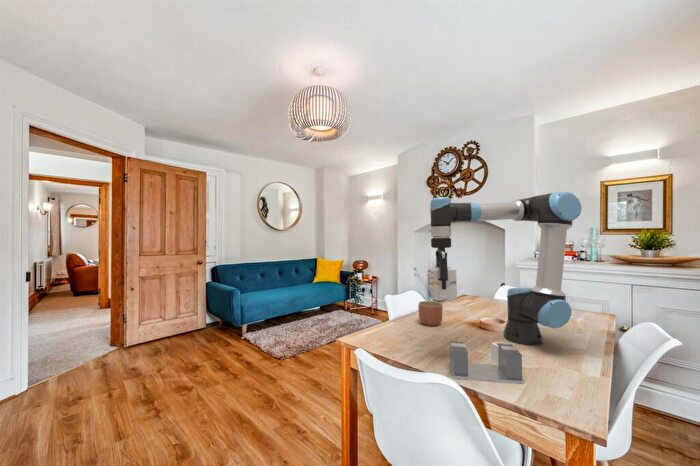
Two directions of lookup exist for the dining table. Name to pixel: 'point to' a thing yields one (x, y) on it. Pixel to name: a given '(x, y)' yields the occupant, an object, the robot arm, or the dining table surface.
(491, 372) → the grey box holder
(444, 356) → the dining table surface
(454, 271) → the ink box
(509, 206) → the robot arm
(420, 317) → the planter
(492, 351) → the loose module
